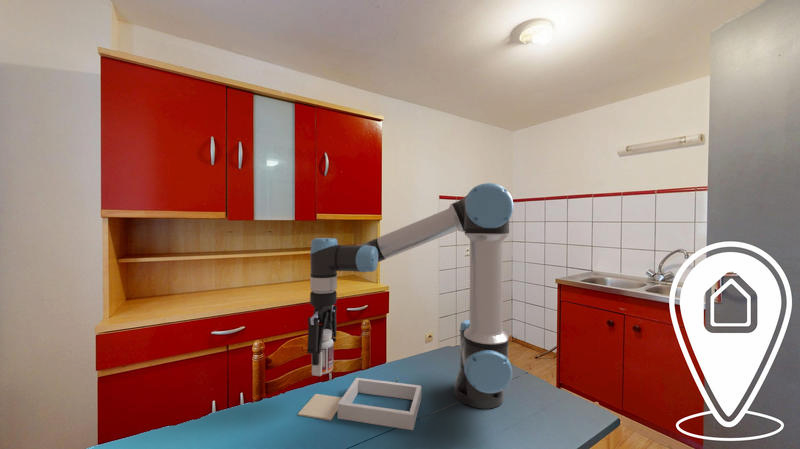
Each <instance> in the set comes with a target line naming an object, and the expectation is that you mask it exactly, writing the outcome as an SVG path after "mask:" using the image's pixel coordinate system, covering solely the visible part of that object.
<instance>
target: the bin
mask: <svg viewBox="0 0 800 449" xmlns="http://www.w3.org/2000/svg"><path fill="white" fill-rule="evenodd" d="M359 393H361V394H367V395H375V396H379V397H380V396H382V397H389V398H396V399H403V400H404V399H405V400H412V402H411V406H410V409H409V411H408V410H402V409H395V408H387V407H382V406H381V407H380V406H374V405H368V404H367V405H366V404H361V403H360V404H359V403H353V402H354V400H355V398H357V396H358V394H359ZM341 398H342V399H341V400H340V401H339V403H338V411H337V419H338V420H339V419H340V420H345V421H353V422H359V423H365V424H371V425H377V426H383V427H388V428H389V427H390V428H396V429H402V430H407V431H409V430H410V431H414V428H415V425H416V421H417V417H418V414H419V413H418V412H419V408H420V404H421V400H422V385H418V384H410V383H401V382H394V381H385V380H377V379H370V378H364V377H363V378H361V377H356V378H355V379H354V380H353V382H352V383H351V385H350V386H349V387H348V389H347V390H346V391H345V393H344V394H343V396H342V397H341Z"/></svg>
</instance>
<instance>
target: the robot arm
mask: <svg viewBox="0 0 800 449" xmlns="http://www.w3.org/2000/svg"><path fill="white" fill-rule="evenodd" d="M513 212H514V201H513V197H512V195H511V193H510V192H509V191H508V190H507V189H506V188H505V187H504V186H503V185H500V184H498V183H493V182H487V183H485V182H484V183H481V184H477V185H476V186H474V187H472V189H470V191H469V192H468V193H467V194H466V195H465V196H464V197H462V198H461V199H459V200H458V201H455V202H452V203H450V204H449V207H448V208H447V209H444V210H441V211H439V212H437V213H434V214H432V215H430V216H427V217H425V218H423V219H420V220H417V221H415V222H412V223H410V224H408V225H405V226H402V227H401V228H399V229H397V230H394V231H391V232H388V233H386V234H383V235H381V236H379V237H377V238H374V239H371V240H369V241H367V242H364V243H360V244H355V245H354V244H353V245H343V244H339V243H338V239H337V238H335V237H316V238H313V239H311V243H310V244H311V245H310V253H309V256H310V278H309V282H310V291H311V292H310V293H309V295H310V296H309V298H310V299H309V304H310V305H311V306H312V307H313V309H314V310H313V315H312V316H309V317H307V324H308V332H307V354H310V355H311V375H312V376H316V377H321V376H322V375H323V374H322V352H321V345H322V338H323V331H324V329H330V330H331V331H332V338H331V339H332V340H333V343H336V341H337V338H336V337H337V309H338V307H337V305H335V304H336V303H337V300H338V299H337V288H338V284H337V283H338V272H342V271H343V272H355V273H356V272H358V273H360V272H361V273H370V272H371V273H372V272H375V271H376V270H377V269H378V268H377V267H378V263H379V262H382V261H385V260H387V259H389V258H392V257H395V256H397V255H399V254H403V253H404V252H407V251H410V250H411V249H414V248H417V247H419V246H422V245H425V244H427V243H429V242H431V241H434V240H437V239H440V238H442V237H444V236H447V235H450V234H453V233H454V232H457V231H459V232H461V233H463V232H464V235H465V236H466V237H467V238H468V240H469V319H466V320H463V321H462V322H461V323H460V327H459V328H460V329H459V332H460V333H459V335H460V336H459V339H460V341H459V342H460V344H459V363H460V364H459V369H458V373H457V375H456V378H455V381H454V383H453V384H454V385H453V388H454V395H455V397H456V399H458V401H460V402H462V403H463V404H464V405H466V406H469V407H471V408H475V409H476V408H477V409H482V410H483V409H486V410H487V409H493V408H494V409H495V408H498V407H499V406H501V405H502V404H503V402H504V401H505V400H504V399H505V398H504V397H505V392H504V390H505V388H507V387H508V386H509V385H510V383H511V381H512V379H513V367H512V364H511V361H510V359H509V335H508V334H507V333H506V332H505V331H504V330H503V298H504V297H503V292H504V291H503V284H504V280H503V278H504V275H503V274H504V270H503V268H504V240H505V239H506V238H508V236H509V235H510V219H511V217H512V215H513Z"/></svg>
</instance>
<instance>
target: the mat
mask: <svg viewBox="0 0 800 449" xmlns="http://www.w3.org/2000/svg"><path fill="white" fill-rule="evenodd" d="M341 399H342V397H340V396H334V395H327V394H318V393H315V394H314V395H313V396H312V397H311V399H309V401H308V402H307V403H306V404H305V405H304V406H303V407H302V408H301V410H300V411H299V412H298V413H297V415H298V416H301V417H307V418H308V417H309V418H313V419H314V418H315V419H319V420H326V421H332V420H333V418H334V417H335V415H336V413H338V403H339V401H340V400H341Z"/></svg>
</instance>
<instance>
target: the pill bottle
mask: <svg viewBox="0 0 800 449" xmlns="http://www.w3.org/2000/svg"><path fill="white" fill-rule="evenodd" d="M331 338H332V331H331V330H330V329H324V331H323V338H322V345H321V352H322V375H326V374H329V373H330V372H332V371H333V369H334V343H335V342H333V340H332V339H331Z"/></svg>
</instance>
